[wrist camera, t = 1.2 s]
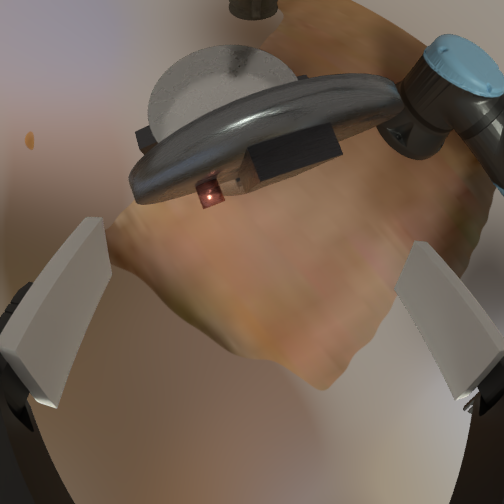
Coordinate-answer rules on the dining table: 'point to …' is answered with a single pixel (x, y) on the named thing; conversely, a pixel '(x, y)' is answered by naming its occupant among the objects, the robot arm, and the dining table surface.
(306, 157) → the cooker lid
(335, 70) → the dining table surface
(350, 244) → the dining table surface
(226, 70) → the cooker pot
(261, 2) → the beer stein
